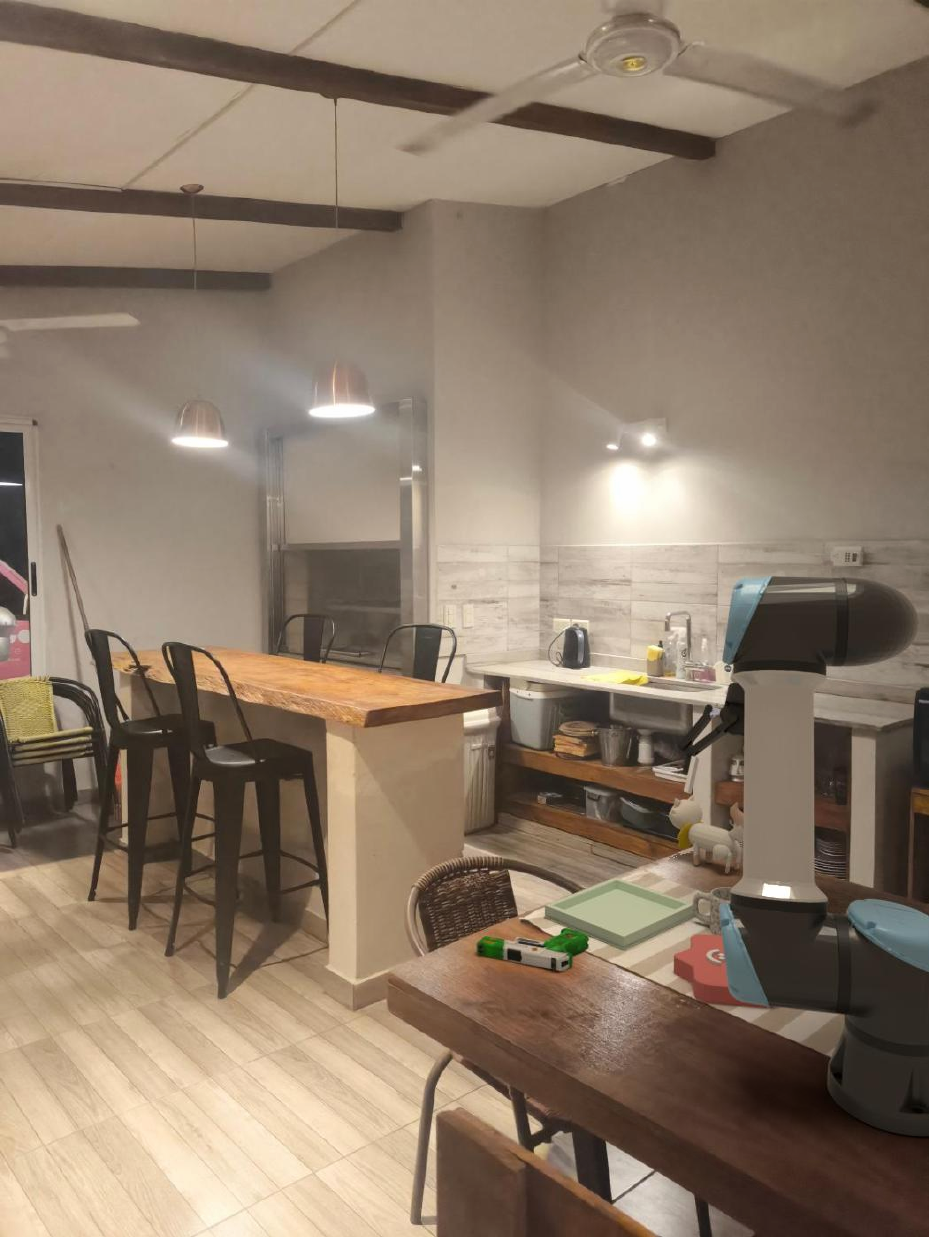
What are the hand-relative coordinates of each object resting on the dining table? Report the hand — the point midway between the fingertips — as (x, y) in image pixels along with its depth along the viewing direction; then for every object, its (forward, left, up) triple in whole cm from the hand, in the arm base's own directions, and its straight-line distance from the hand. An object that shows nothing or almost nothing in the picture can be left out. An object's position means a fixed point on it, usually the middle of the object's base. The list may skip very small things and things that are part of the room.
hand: (725, 802), depth 166 cm
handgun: (-34, +14, -22) cm, 43 cm away
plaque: (-19, -12, -22) cm, 32 cm away
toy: (+21, +16, -22) cm, 34 cm away
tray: (-13, +13, -21) cm, 28 cm away
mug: (-4, -2, -22) cm, 22 cm away
